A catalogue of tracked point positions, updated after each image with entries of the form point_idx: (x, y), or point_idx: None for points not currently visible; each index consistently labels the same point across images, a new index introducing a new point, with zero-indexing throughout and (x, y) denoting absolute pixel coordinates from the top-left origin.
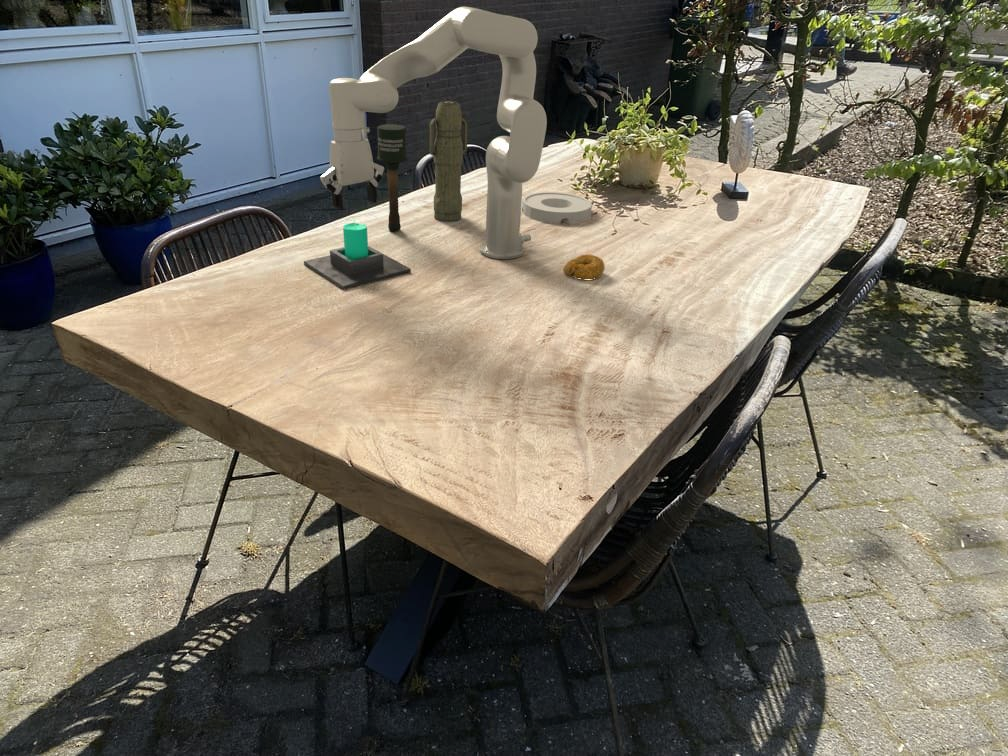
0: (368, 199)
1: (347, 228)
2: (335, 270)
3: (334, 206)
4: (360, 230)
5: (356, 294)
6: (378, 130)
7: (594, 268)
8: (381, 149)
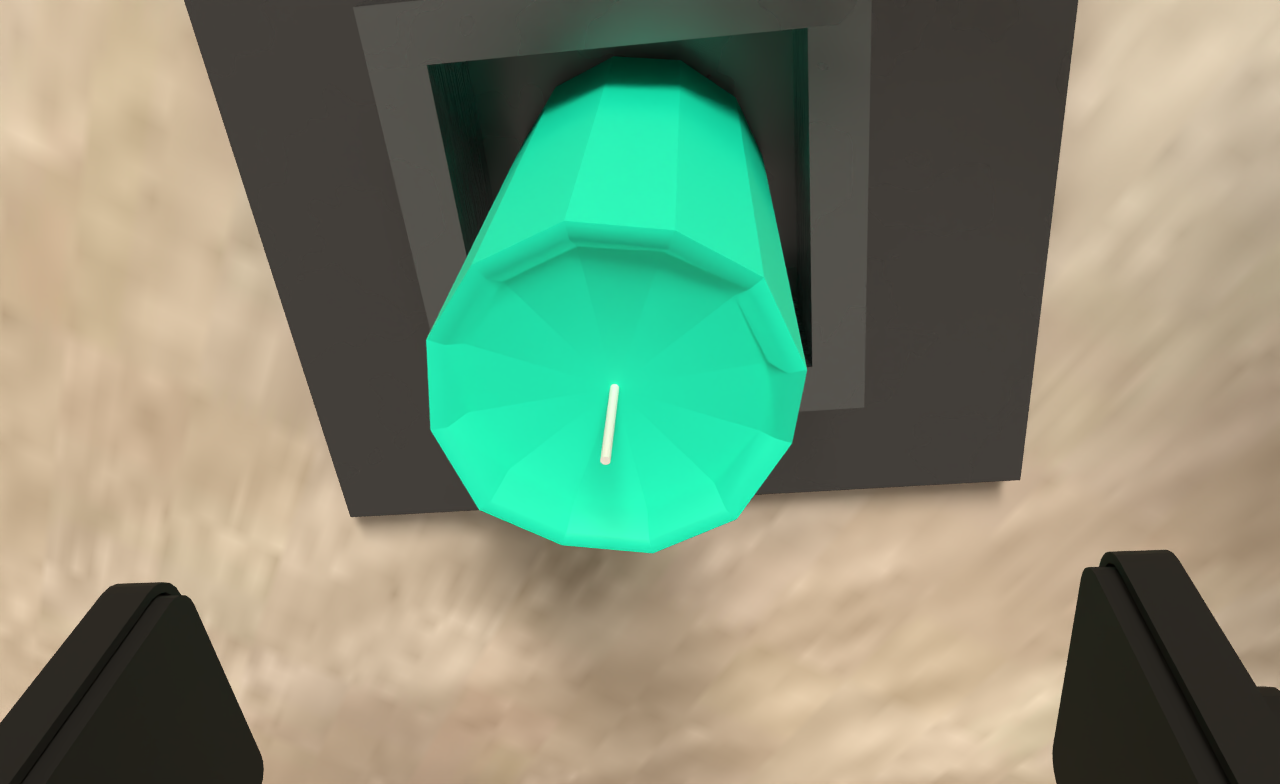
0: (1089, 604)
1: (497, 350)
2: (386, 205)
3: (112, 604)
4: (620, 543)
5: (425, 591)
6: None
7: None
8: None
